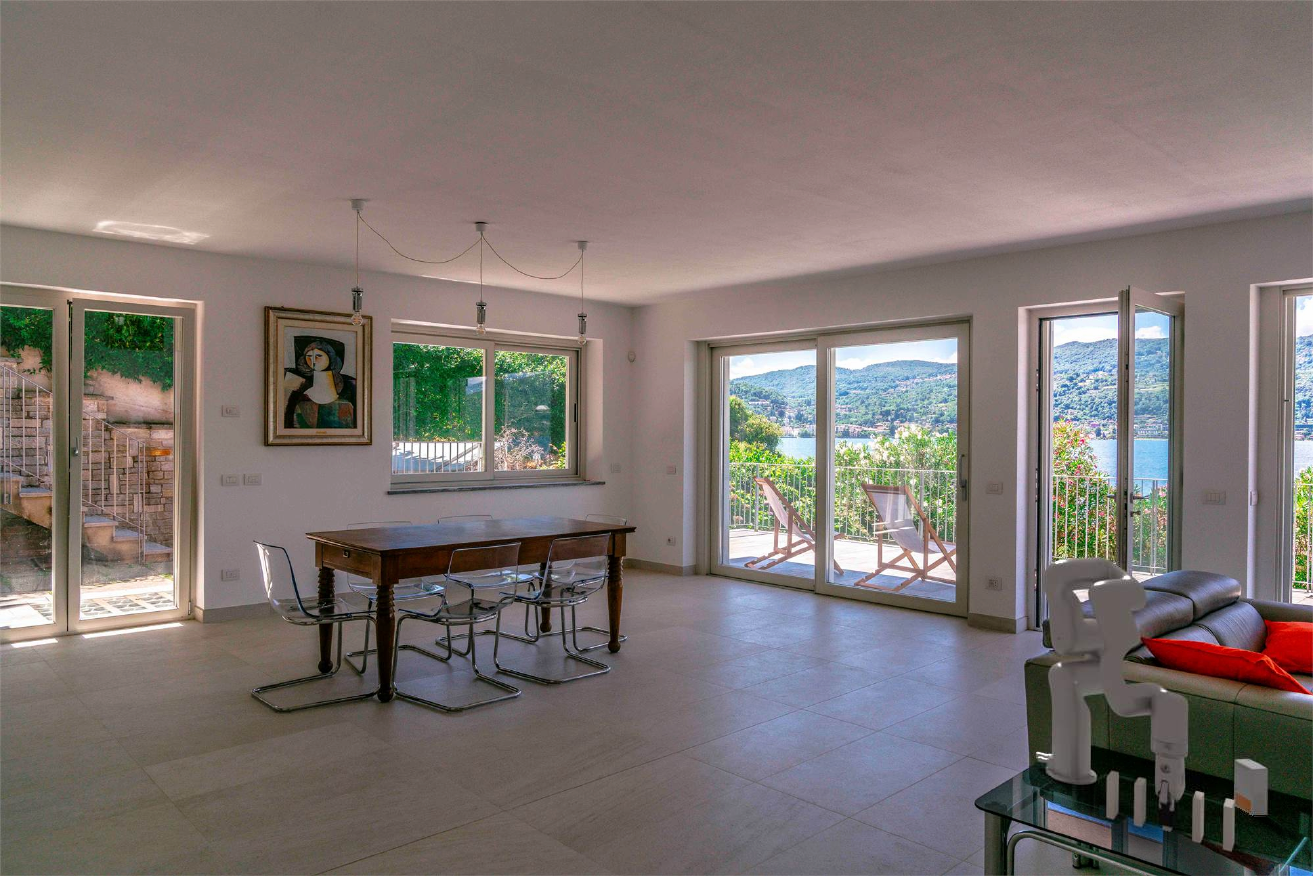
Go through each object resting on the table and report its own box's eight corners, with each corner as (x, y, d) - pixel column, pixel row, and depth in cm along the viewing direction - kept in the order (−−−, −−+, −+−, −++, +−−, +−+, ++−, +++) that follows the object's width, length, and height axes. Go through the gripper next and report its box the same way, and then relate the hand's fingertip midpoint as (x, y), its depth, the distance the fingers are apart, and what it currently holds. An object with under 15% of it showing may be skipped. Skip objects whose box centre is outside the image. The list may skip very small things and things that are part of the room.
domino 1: (1106, 817, 208) (1106, 777, 208) (1111, 810, 212) (1111, 770, 211) (1113, 819, 207) (1114, 779, 206) (1118, 812, 211) (1118, 772, 210)
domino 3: (1173, 823, 203) (1174, 782, 203) (1170, 831, 199) (1170, 789, 199) (1166, 821, 204) (1166, 780, 204) (1162, 829, 200) (1162, 787, 200)
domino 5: (1223, 849, 192) (1223, 805, 192) (1225, 840, 196) (1226, 798, 196) (1231, 851, 191) (1232, 808, 191) (1234, 843, 195) (1234, 800, 195)
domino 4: (1192, 840, 196) (1192, 798, 196) (1195, 832, 200) (1196, 791, 200) (1200, 843, 195) (1200, 800, 195) (1203, 834, 199) (1204, 792, 199)
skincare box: (1233, 805, 214) (1233, 759, 213) (1248, 805, 214) (1249, 758, 214) (1252, 817, 208) (1252, 769, 207) (1268, 816, 208) (1268, 768, 208)
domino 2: (1133, 825, 204) (1134, 784, 204) (1138, 817, 208) (1138, 777, 207) (1141, 827, 203) (1141, 785, 203) (1145, 819, 207) (1146, 779, 206)
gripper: (1181, 761, 192) (1180, 840, 193) (1193, 739, 205) (1192, 813, 205) (1144, 752, 197) (1143, 830, 197) (1157, 732, 210) (1157, 804, 210)
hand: (1168, 820), depth 201 cm, fingers closed on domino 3, 4 cm apart
